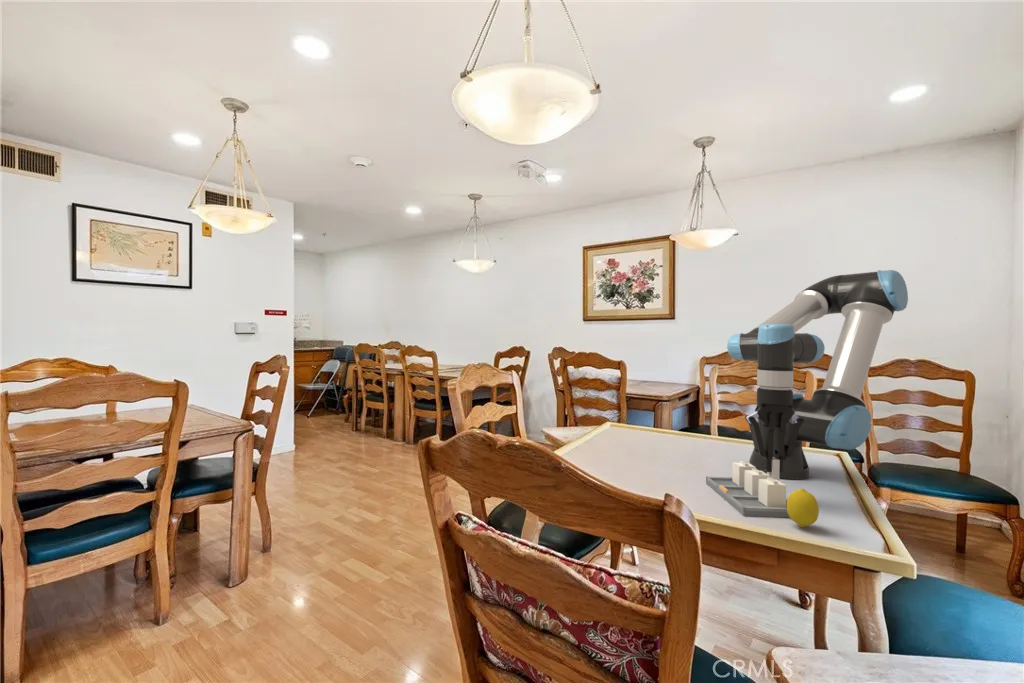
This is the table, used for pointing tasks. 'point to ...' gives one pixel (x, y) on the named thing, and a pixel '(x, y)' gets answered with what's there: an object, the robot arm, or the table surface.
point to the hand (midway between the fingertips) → (772, 485)
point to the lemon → (802, 508)
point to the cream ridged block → (753, 480)
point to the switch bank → (743, 499)
